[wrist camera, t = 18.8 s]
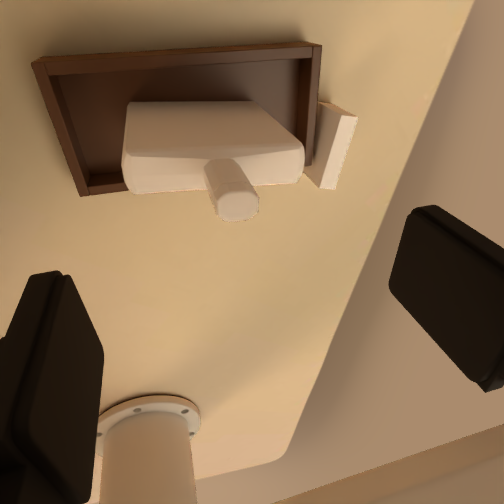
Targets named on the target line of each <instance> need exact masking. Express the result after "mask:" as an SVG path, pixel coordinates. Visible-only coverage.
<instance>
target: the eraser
mask: <svg viewBox="0 0 504 504" xmlns="http://www.w3.org/2000/svg"><path fill="white" fill-rule="evenodd" d="M358 118H359V117H357V116H355V115H353V114H351V113H349V112H347V111H345V110H343V109H341V108H339V107H338V106H336V105H334V104H330V103H323V102H317V111H316V123H315V134H314V146H313V157H312V165H311V166H304V168H303V172H304V173H305V174H306V175H307V176H308V177H309V178H310V179H311V180H312V181H313V183H314V184H315V185H316V186H317V187H318V188H319V189H335V187H336V184H337V181H338V178H339V175H340V172H341V169H342V166H343V163H344V160H345V157H346V154H347V151H348V148H349V145H350V142H351V139H352V136H353V133H354V130H355V127H356V124H357V121H358Z"/></svg>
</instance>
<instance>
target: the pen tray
mask: <svg viewBox="0 0 504 504" xmlns="http://www.w3.org/2000/svg"><path fill="white" fill-rule="evenodd" d="M321 54H322V45H318V44H314V43H310V42H292V43H275V44H257V45H240V46H223V47H205V48H188V49H170V50H153V51H136V52H118V53H101V54H84V55H66V56H49V57H41V58H39V59H37V60H36V61H34V62H32V63H31V66H32V69H33V71H34V74H35V77H36V79H37V82H38V85H39V88H40V90H41V93H42V96H43V98H44V101H45V104H46V106H47V109H48V112H49V115H50V117H51V120H52V123H53V125H54V128H55V131H56V134H57V136H58V139H59V142H60V144H61V147H62V150H63V152H64V155H65V158H66V161H67V163H68V166H69V169H70V171H71V174H72V177H73V179H74V182H75V185H76V188H77V190H78V193H79V196H80V197H83V196H89V195H98V194H105V193H113V192H120V191H128V190H129V189H128V188H127V186H126V184H125V181H124V177H123V172H122V166H121V163H122V152H123V142H124V133H125V124H126V114H127V106H128V104H129V102H186V101H254V102H255V103H256V104H257V105H259V106H260V107H261V108H262V109H263V110H264V111H265V112H267V113H268V114H269V115H270V116H271V117H272V118H274V119H275V120H276V121H277V122H278V123H279V124H280V125H282V126H283V127H284V128H285V129H286V130H287V131H289V132H290V133H291V134H292V135H293V136H294V137H296V138H297V139H298V140H299V141H300V142H301V143H302V145H303V147H304V152H305V161H304V166H311V165H312V157H313V146H314V134H315V123H316V111H317V100H318V88H319V77H320V65H321Z"/></svg>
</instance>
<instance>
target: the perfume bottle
mask: <svg viewBox="0 0 504 504" xmlns="http://www.w3.org/2000/svg"><path fill="white" fill-rule="evenodd" d="M304 161H305V152H304V147H303V145H302V143H301V142H300V141H299V140H298V139H297V138H296V137H294V136H293V135H292V134H291V133H290V132H289V131H287V130H286V129H285V128H284V127H283V126H282V125H280V124H279V123H278V122H277V121H276V120H275V119H274V118H272V117H271V116H270V115H269V114H268V113H267V112H265V111H264V110H263V109H262V108H261V107H260V106H259V105H257V104H256V103H255V102H254V101H186V102H129V104H128V106H127V114H126V124H125V133H124V142H123V152H122V163H121V166H122V172H123V177H124V181H125V184H126V186H127V188H128V189H129V190H130V191H131V192H132V193H133V194H134V195H136V194H150V193H164V192H178V191H193V190H208V193H209V196H210V198H211V201H212V204H213V206H214V209H215V212H216V215H217V216H218V217H219V218H221V219H222V220H223V221H226V222H236V221H246V220H249V219H251V218H252V217H253V216H254V215H255V214H257V213H258V208H259V196H258V195H257V193H256V191H255V190H254V188H253V186H263V185H277V184H292V183H297V182H298V180H299V179H300V177H301V175H302V172H303V168H304Z"/></svg>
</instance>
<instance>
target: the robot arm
mask: <svg viewBox="0 0 504 504" xmlns="http://www.w3.org/2000/svg"><path fill="white" fill-rule="evenodd" d="M389 289H390V291H391V293H392V294H393V295H394V296H395V298H396V299H397V300H398V301H399V302H400V303H401V304H402V305H403V307H404V308H405V309H406V310H407V311H408V312H409V313H410V314H411V315H412V317H413V318H414V319H415V320H416V321H417V322H418V323H419V324H420V325H421V327H423V329H424V330H425V331H426V332H427V333H428V334H429V335H430V336H431V338H432V339H433V340H434V341H435V342H436V343H437V344H438V345H439V347H440V348H441V349H442V350H443V351H444V352H445V353H446V354H447V355H448V357H449V358H450V359H451V360H452V361H453V362H454V363H455V364H456V365H457V367H458V368H459V369H460V370H461V371H462V372H463V373H464V374H465V375H466V377H467V378H469V379H470V380H471V381H473V382H476V383H477V384H478V385H479V386H480V387H481V389H482V390H483V391H484V392H485V393H486V392H489V391H492V390H496V389H499V388H502V387H503V385H504V249H503V248H502V247H501V246H499V245H497V244H496V243H494V242H493V241H491V240H490V239H488V238H486V237H485V236H484V235H482V234H480V233H479V232H477V231H476V230H474V229H473V228H471V227H470V226H468V225H466V224H465V223H464V222H462V221H460V220H459V219H457V218H456V217H454V216H453V215H451V214H450V213H448V212H447V211H445V210H443V209H442V208H440V207H439V206H436V205H429V206H423V207H417V208H415V209H413V210H412V212H411V214H409V215H408V216H407V219H406V222H405V226H404V230H403V233H402V236H401V240H400V243H399V247H398V251H397V254H396V258H395V262H394V265H393V268H392V272H391V276H390V279H389ZM103 366H104V351H103V347H102V344H101V342H100V340H99V338H98V335H97V333H96V331H95V329H94V326H93V324H92V322H91V320H90V317H89V315H88V313H87V311H86V309H85V306H84V304H83V302H82V300H81V297H80V295H79V293H78V291H77V289H76V286H75V284H74V282H73V280H72V278H71V276H70V275H62V273H61V272H60V271H58V270H57V271H51V272H45V273H40V274H34V275H31V276H30V277H29V279H28V282H27V284H26V286H25V289H24V291H23V294H22V296H21V299H20V301H19V304H18V306H17V308H16V311H15V313H14V316H13V318H12V321H11V323H10V325H9V328H8V330H7V333H6V335H5V337H2V338H1V339H0V504H84V503H87V502H88V501H89V499H90V496H91V489H92V479H93V469H94V458H95V453H96V454H98V455H99V456H101V457H103V460H102V472H101V485H100V498H99V504H197V496H196V487H195V479H194V470H193V462H192V453H191V445H190V440H191V439H192V438H193V437H194V436H195V435H196V434H197V432H198V430H199V428H200V425H201V418H200V413H199V410H198V408H197V407H196V406H195V405H194V404H193V403H192V402H190V401H188V400H186V399H184V398H180V397H176V396H168V395H154V396H146V397H140V398H136V399H132V400H129V401H126V402H123V403H121V404H119V405H116V406H114V407H112V408H111V409H109V410H108V411H106V412H104V413H103V414H102V415H101V416H100V417H99V407H100V397H101V387H102V376H103ZM98 417H99V418H98ZM273 504H504V424H502V425H499V426H496V427H493V428H490V429H487V430H484V431H481V432H478V433H475V434H472V435H470V436H466V437H464V438H461V439H458V440H455V441H452V442H449V443H446V444H443V445H440V446H437V447H434V448H432V449H429V450H426V451H423V452H420V453H417V454H414V455H411V456H408V457H405V458H402V459H400V460H397V461H394V462H391V463H388V464H385V465H382V466H379V467H377V468H374V469H370V470H367V471H365V472H362V473H359V474H356V475H353V476H350V477H347V478H344V479H341V480H339V481H336V482H333V483H330V484H327V485H324V486H321V487H318V488H315V489H313V490H310V491H307V492H304V493H301V494H298V495H295V496H293V497H290V498H287V499H284V500H281V501H278V502H275V503H273Z"/></svg>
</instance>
